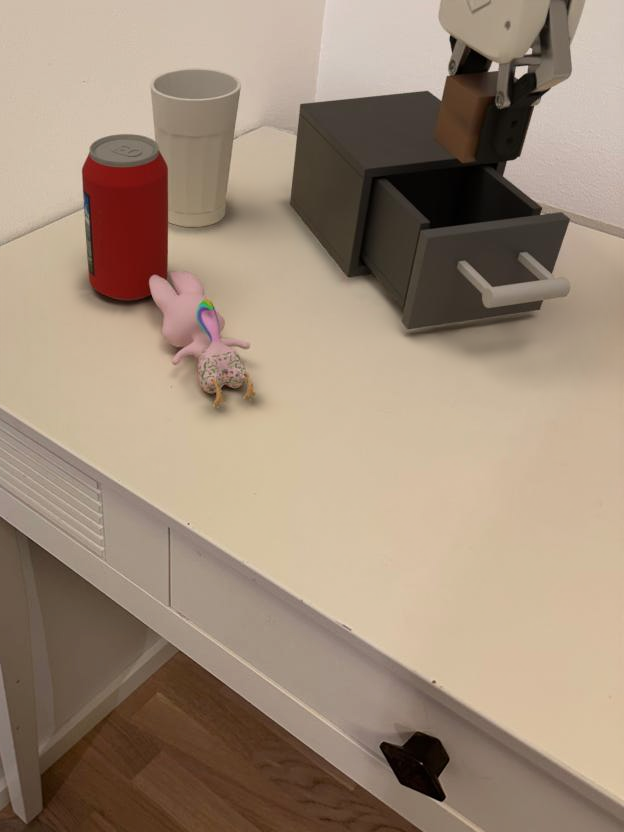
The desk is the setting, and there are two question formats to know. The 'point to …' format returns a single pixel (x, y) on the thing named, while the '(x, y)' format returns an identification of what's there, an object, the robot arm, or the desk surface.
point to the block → (466, 113)
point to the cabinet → (360, 162)
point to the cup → (195, 140)
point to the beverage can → (125, 215)
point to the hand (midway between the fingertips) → (477, 143)
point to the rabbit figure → (199, 333)
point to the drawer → (461, 245)
